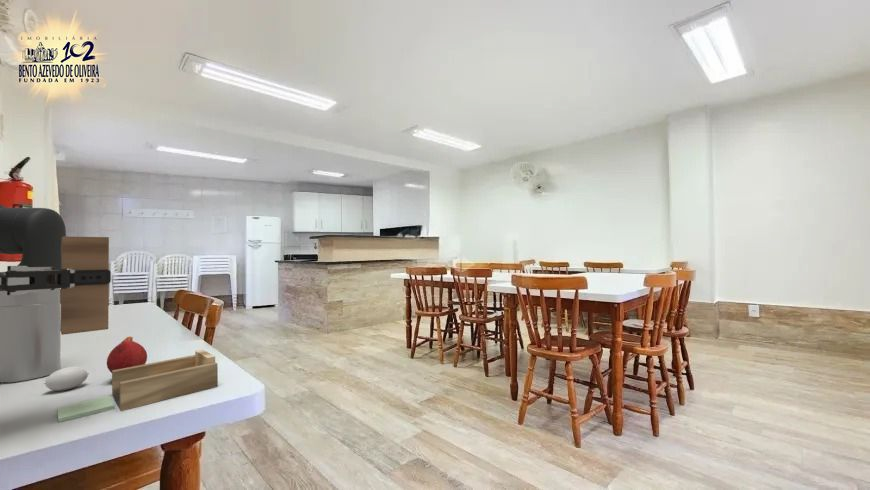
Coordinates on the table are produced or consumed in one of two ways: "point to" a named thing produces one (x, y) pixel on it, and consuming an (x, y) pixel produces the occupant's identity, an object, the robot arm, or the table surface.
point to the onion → (126, 355)
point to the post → (84, 302)
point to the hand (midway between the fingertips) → (107, 276)
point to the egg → (66, 378)
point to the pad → (84, 408)
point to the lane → (164, 380)
